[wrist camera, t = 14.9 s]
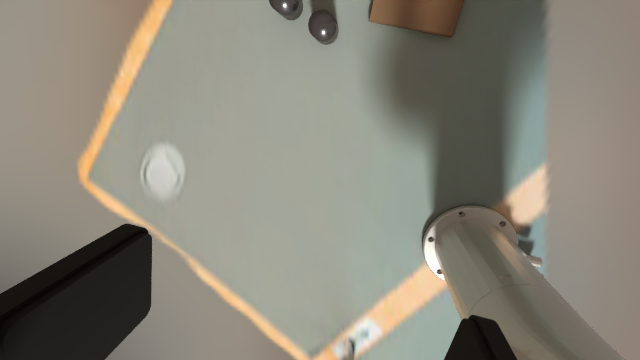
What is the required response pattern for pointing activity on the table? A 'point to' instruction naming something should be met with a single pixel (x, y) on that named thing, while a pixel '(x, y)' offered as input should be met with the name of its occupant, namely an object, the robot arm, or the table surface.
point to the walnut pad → (418, 15)
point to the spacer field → (320, 22)
